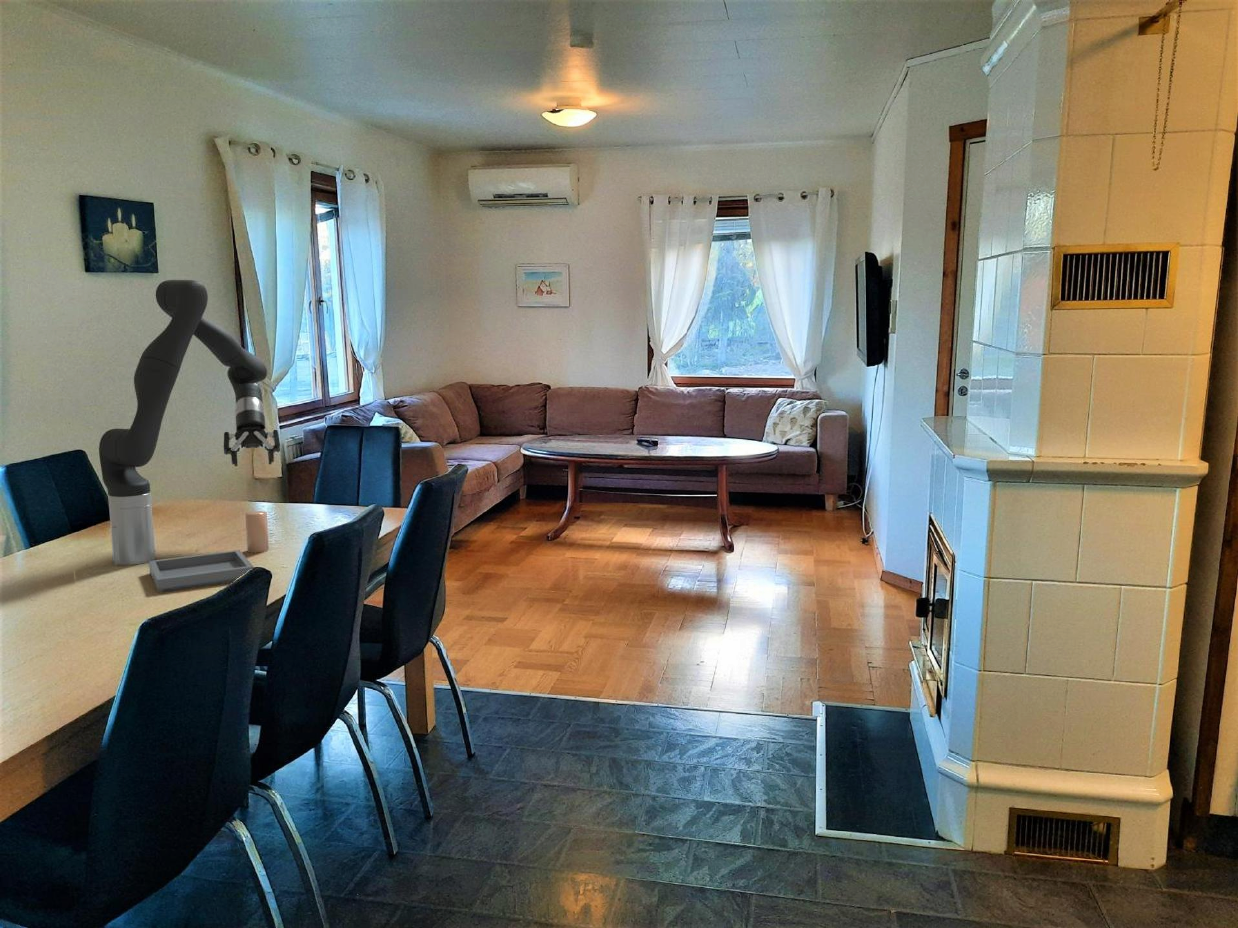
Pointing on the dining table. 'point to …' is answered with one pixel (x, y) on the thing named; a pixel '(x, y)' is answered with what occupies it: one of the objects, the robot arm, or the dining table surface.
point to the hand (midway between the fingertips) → (253, 463)
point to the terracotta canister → (257, 531)
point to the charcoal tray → (198, 570)
